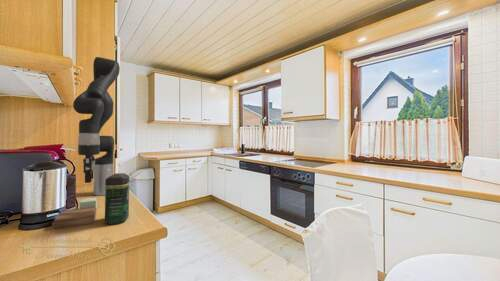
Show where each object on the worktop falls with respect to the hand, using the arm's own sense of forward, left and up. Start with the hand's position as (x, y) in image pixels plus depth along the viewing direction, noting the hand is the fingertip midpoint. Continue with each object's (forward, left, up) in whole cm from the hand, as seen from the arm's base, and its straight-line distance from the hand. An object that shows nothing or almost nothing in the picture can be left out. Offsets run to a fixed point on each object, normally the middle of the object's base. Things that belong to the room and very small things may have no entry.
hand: (89, 180), depth 91 cm
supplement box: (-9, -10, -14) cm, 20 cm away
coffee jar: (+16, +10, -14) cm, 24 cm away
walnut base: (+9, -3, -14) cm, 17 cm away
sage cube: (0, 0, -14) cm, 14 cm away
